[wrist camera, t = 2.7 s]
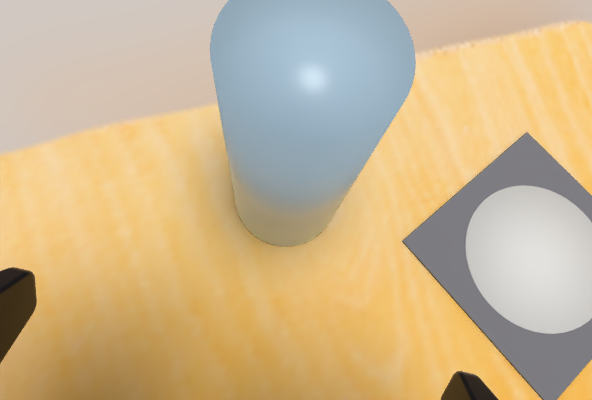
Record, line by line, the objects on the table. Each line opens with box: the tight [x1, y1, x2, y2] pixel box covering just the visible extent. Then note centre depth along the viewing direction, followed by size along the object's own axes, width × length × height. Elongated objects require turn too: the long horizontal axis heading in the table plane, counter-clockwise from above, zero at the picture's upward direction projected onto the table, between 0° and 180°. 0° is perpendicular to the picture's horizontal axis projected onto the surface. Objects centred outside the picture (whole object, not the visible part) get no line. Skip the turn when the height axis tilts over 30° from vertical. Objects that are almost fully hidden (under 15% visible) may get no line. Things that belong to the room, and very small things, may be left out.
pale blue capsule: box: [210, 0, 416, 247], centre depth 18 cm, size 6×6×13 cm
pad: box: [403, 133, 592, 400], centre depth 24 cm, size 11×11×1 cm
